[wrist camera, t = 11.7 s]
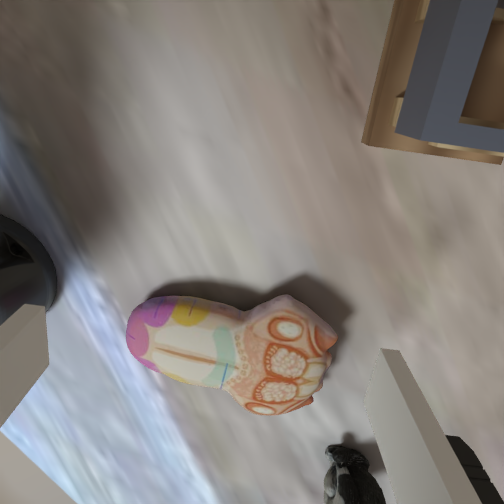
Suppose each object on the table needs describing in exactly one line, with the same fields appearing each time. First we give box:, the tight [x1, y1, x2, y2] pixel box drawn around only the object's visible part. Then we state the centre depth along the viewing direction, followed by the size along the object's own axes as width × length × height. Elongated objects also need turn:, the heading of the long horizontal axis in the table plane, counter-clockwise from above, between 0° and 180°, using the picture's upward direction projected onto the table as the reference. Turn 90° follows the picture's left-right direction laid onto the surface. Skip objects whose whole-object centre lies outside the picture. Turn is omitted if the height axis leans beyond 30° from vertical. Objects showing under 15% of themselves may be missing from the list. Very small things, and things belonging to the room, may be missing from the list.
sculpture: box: [126, 294, 338, 415], centre depth 47 cm, size 17×7×25 cm
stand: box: [361, 0, 504, 165], centre depth 35 cm, size 13×15×5 cm
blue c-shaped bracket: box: [394, 0, 504, 153], centre depth 30 cm, size 10×12×6 cm
